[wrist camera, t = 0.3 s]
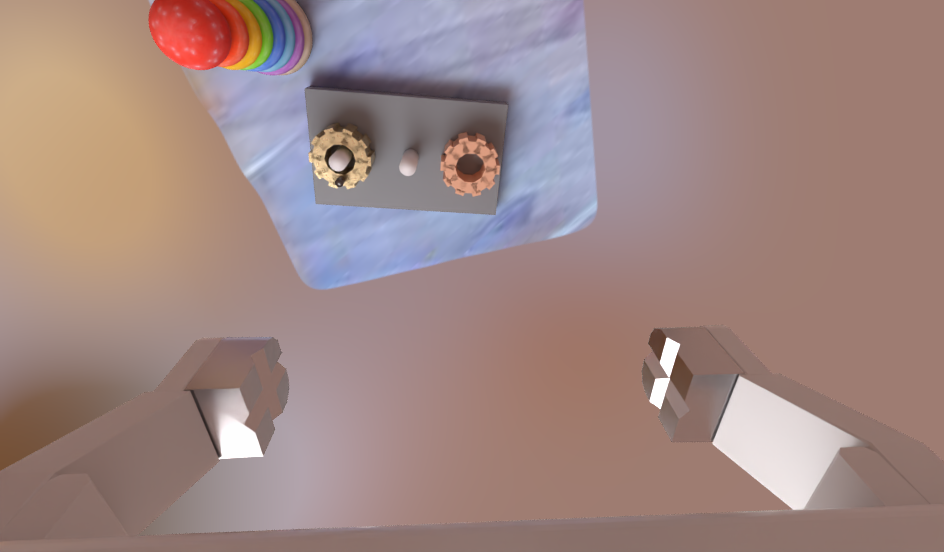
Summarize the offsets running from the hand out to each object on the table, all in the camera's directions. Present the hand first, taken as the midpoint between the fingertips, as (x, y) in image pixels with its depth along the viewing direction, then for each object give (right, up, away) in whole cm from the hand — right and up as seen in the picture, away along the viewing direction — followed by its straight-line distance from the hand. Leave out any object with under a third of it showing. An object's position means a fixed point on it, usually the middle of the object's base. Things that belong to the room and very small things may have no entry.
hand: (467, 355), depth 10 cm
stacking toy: (-20, +27, +37) cm, 50 cm away
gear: (-14, +16, +41) cm, 46 cm away
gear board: (-7, +17, +43) cm, 47 cm away
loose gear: (0, +15, +42) cm, 45 cm away
